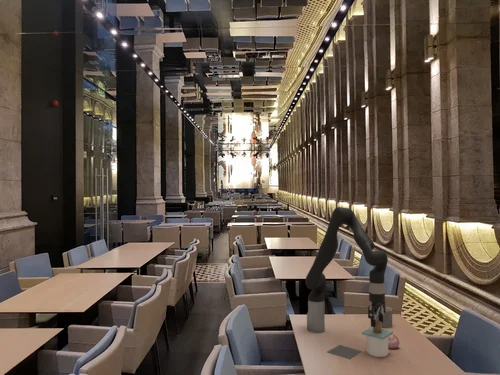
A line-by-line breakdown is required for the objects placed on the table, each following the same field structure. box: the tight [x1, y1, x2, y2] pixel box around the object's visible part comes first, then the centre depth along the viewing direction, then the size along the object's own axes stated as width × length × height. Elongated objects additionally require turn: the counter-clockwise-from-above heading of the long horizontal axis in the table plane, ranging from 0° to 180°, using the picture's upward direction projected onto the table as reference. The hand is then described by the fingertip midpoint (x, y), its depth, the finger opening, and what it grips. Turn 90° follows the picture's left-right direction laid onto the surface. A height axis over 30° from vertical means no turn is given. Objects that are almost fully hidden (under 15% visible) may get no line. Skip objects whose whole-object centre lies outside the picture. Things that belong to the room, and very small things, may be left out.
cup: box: [366, 335, 389, 358], centre depth 200 cm, size 10×10×10 cm
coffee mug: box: [376, 306, 393, 329], centre depth 245 cm, size 13×10×10 cm
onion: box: [388, 333, 400, 350], centre depth 208 cm, size 8×8×7 cm
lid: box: [361, 320, 394, 339], centre depth 200 cm, size 11×11×6 cm
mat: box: [326, 344, 363, 360], centre depth 202 cm, size 13×13×1 cm
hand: (377, 324), depth 200 cm, fingers open, 8 cm apart
